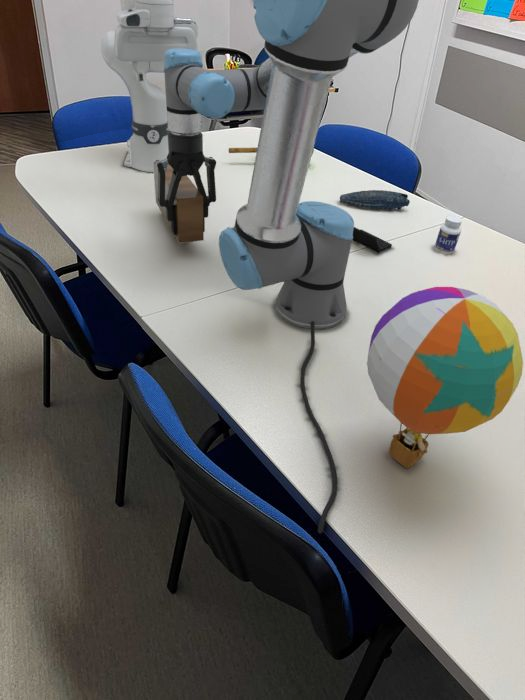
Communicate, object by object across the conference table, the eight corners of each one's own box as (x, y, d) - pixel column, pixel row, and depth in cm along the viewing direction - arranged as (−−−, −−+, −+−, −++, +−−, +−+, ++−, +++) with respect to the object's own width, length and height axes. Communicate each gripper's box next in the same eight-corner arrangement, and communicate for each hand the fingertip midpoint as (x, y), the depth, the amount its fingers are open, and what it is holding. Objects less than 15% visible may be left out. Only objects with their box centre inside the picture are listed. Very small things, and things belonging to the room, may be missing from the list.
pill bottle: (433, 251, 139) (442, 220, 133) (435, 243, 143) (444, 213, 137) (453, 256, 138) (464, 225, 132) (454, 247, 142) (465, 217, 136)
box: (203, 240, 126) (203, 196, 119) (179, 243, 124) (177, 198, 117) (177, 200, 145) (175, 160, 138) (155, 202, 143) (153, 162, 136)
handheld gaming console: (396, 239, 139) (388, 216, 131) (384, 261, 138) (375, 240, 130) (358, 230, 145) (348, 208, 137) (347, 252, 144) (336, 231, 136)
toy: (317, 448, 82) (351, 286, 63) (393, 397, 93) (442, 246, 74) (418, 536, 71) (496, 372, 52) (491, 467, 82) (578, 310, 63)
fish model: (408, 214, 157) (412, 198, 153) (339, 207, 158) (341, 191, 154) (406, 206, 162) (410, 190, 159) (339, 199, 163) (341, 183, 160)
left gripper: (194, 16, 129) (194, 77, 138) (110, 13, 123) (116, 78, 131) (201, 20, 125) (201, 83, 134) (114, 17, 118) (120, 84, 127)
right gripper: (221, 125, 118) (220, 221, 132) (137, 128, 112) (145, 228, 126) (232, 134, 112) (230, 233, 126) (144, 138, 106) (152, 242, 120)
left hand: (158, 80), depth 132 cm, fingers open, 8 cm apart
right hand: (188, 231), depth 126 cm, fingers closed on box, 6 cm apart
